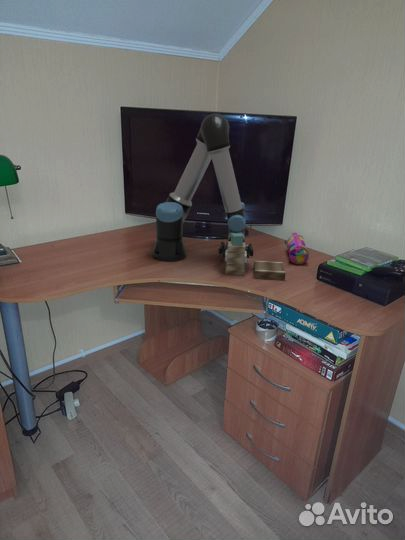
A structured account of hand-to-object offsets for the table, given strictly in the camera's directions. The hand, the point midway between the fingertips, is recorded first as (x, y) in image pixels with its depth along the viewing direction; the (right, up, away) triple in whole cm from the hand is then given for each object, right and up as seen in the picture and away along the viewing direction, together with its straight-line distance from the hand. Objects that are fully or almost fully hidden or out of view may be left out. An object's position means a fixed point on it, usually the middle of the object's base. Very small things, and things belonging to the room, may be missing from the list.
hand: (235, 258), depth 154 cm
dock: (+14, -6, +6) cm, 17 cm away
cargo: (+1, +6, +3) cm, 7 cm away
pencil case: (+30, +1, +27) cm, 40 cm away
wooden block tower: (0, -5, +7) cm, 9 cm away
